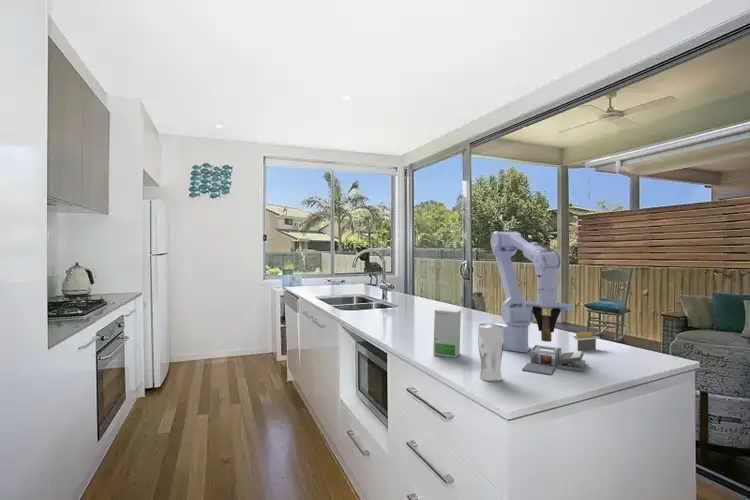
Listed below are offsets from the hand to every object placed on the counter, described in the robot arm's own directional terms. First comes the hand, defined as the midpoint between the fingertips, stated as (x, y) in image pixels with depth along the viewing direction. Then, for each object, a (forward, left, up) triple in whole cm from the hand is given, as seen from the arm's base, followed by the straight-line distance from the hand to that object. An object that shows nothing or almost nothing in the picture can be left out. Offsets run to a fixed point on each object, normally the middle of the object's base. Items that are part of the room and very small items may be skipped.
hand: (546, 331), depth 130 cm
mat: (-1, -10, -10) cm, 14 cm away
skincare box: (-31, -9, -10) cm, 33 cm away
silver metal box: (+3, -1, -10) cm, 11 cm away
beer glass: (-11, -26, -10) cm, 30 cm away
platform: (+9, +24, -11) cm, 28 cm away
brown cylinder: (0, 0, -3) cm, 3 cm away
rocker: (+7, -1, -7) cm, 10 cm away
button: (0, 0, -10) cm, 10 cm away
